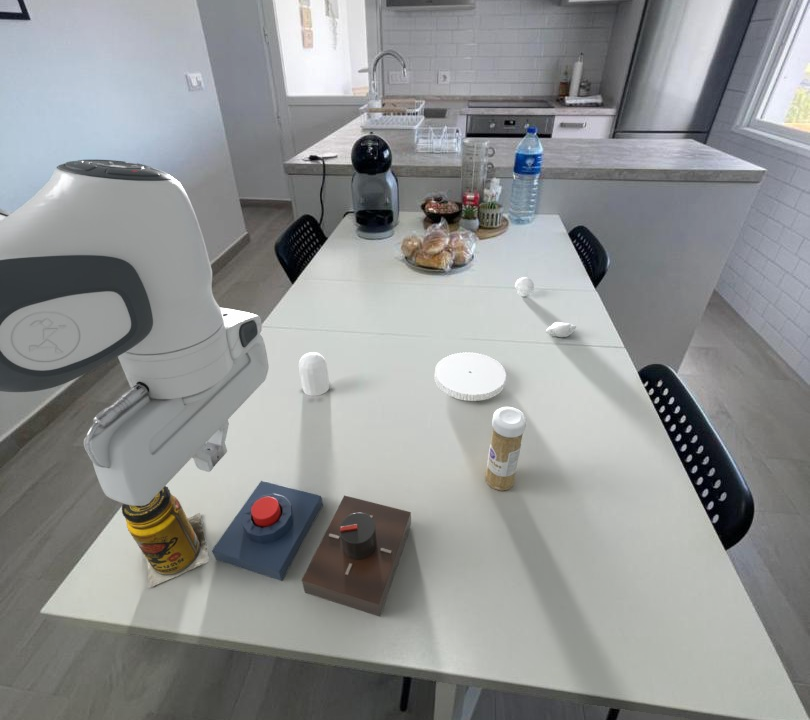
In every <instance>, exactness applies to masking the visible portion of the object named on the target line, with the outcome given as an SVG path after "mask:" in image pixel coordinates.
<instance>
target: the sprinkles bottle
mask: <svg viewBox="0 0 810 720" xmlns="http://www.w3.org/2000/svg"><path fill="white" fill-rule="evenodd" d="M491 426H492V432H491V438H490V444H489V449H488V456H487V462H486V465H487V466H486V471H485V474H484V479H485V483H486V484H487V485H488V486H489V487H490V488H492V489H494V490H496V491H507V490H509V489H511V488H512V487H513V486H514V484H515V476H516V471H517V468H518V463H519V457H520V452H521V447H522V440H523V434H524V433H525V430H526V426H527V417H526V415H525V413H524V412H522V411H521V410H520V409H519V408H517V407H513V406H502V407H500V408H497V409H496V410H495V411H494V412H493V415H492V420H491Z"/></svg>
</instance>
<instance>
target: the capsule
mask: <svg viewBox="0 0 810 720" xmlns="http://www.w3.org/2000/svg"><path fill="white" fill-rule="evenodd" d="M298 370H299V371H298V372H299V377H300V382H301V388H302V392H303V393H304V394H305V395H307V396H311V397H318V396H322V395H324V394H325V393H327V392H328V391H329V390H330V386H331V385H330V378H329V372H328V371H329V370H328V364H327V361H326V360H325V357H324V356H323V355H322V354H320V353H319V352H315V351H313V352H312V351H311V352H307V353H305V354H303V355H302V356H301V357H300V359H299V361H298Z"/></svg>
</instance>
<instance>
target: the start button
mask: <svg viewBox="0 0 810 720" xmlns="http://www.w3.org/2000/svg"><path fill="white" fill-rule="evenodd" d="M251 514H252V517H253V519H254V522H255V523H256V524H257V525H258V526H261V527H267V526H271V525H273V524H274V523H275V522H277V520H278V519H279V517H280V514H281V511H280V507H279V504H278V501H277V500H276V499H275V498H273V497H263V498H261V499H259V500H257V501H256V502H255V503H254V504H253V506H252V509H251Z"/></svg>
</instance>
